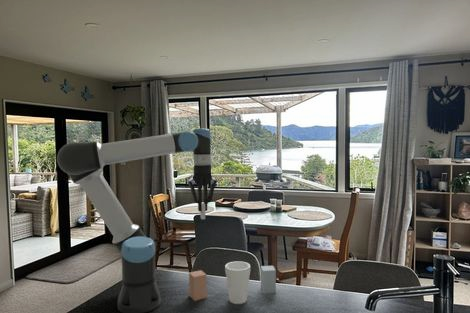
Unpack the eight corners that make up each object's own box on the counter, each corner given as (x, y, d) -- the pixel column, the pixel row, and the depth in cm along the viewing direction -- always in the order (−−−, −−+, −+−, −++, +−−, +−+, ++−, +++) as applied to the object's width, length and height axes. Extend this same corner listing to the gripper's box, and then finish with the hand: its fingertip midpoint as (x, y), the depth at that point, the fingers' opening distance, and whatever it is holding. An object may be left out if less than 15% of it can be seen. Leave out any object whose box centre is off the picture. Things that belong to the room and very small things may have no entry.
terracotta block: (194, 300, 122) (194, 277, 122) (189, 295, 126) (189, 272, 126) (206, 297, 124) (206, 274, 124) (201, 292, 129) (200, 270, 128)
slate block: (263, 293, 128) (263, 270, 127) (260, 288, 132) (260, 266, 132) (275, 292, 128) (275, 270, 128) (273, 287, 133) (272, 265, 133)
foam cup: (238, 308, 116) (238, 272, 115) (220, 300, 122) (219, 266, 122) (255, 299, 123) (255, 265, 122) (237, 292, 129) (237, 259, 129)
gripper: (189, 165, 135) (190, 221, 136) (219, 164, 140) (219, 219, 141) (185, 164, 142) (186, 218, 143) (214, 163, 147) (214, 215, 148)
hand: (202, 218), depth 142 cm, fingers closed
